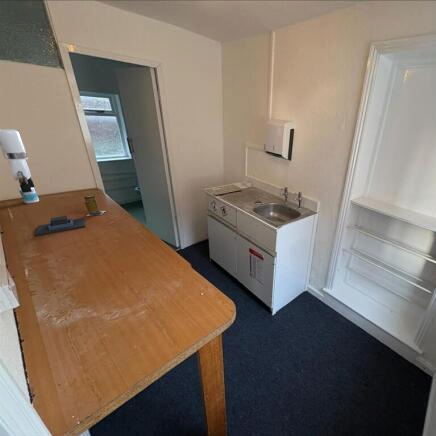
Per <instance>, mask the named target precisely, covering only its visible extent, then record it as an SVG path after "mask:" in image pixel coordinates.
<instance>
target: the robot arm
mask: <svg viewBox="0 0 436 436" xmlns="http://www.w3.org/2000/svg"><path fill="white" fill-rule="evenodd" d="M0 149H1V152H2V154H3V157H4V160H5V161H8V164H9V168H10V171H11V174H12V177H13V179H14V181H18V185H19V184H20V185H19V188H20V187H21V190H22V192H23V193H25V192H32V190H31V188H33V187H34V188H35V187H36V186H35V184H34V181H33V179H32V173H31V170H30V168H29V164H28V162H27V160H29V157H28V153H27V151H26V147H25V145H24V142H23V140H22V137H21V134H20V133H19V131H18V130H16V129H13V128H0Z"/></svg>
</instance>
